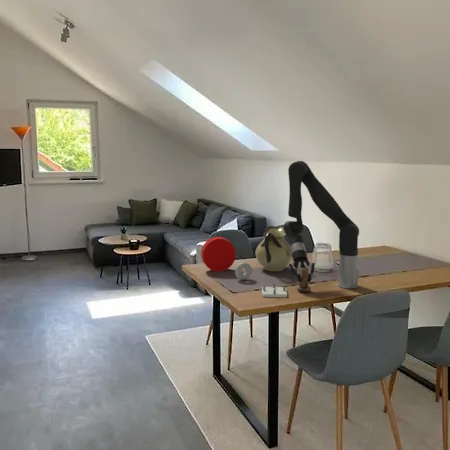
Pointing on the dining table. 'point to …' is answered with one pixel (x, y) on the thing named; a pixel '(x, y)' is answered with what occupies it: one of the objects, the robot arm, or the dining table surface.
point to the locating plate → (274, 291)
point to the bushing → (304, 280)
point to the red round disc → (218, 254)
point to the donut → (247, 273)
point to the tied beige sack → (274, 250)
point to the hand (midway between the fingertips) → (305, 281)
